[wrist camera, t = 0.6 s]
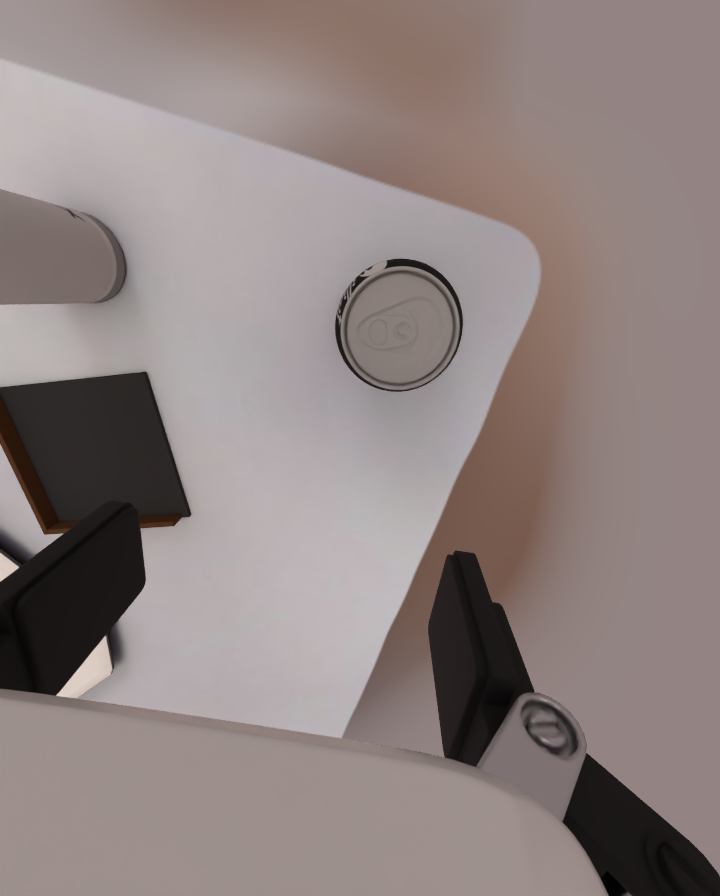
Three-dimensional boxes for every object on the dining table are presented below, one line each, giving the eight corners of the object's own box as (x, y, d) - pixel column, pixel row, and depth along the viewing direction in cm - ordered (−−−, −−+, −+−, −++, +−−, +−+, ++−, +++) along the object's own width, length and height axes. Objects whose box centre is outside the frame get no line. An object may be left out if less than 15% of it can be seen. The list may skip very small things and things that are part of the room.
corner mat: (-4, 387, 33) (-25, 392, 32) (146, 371, 32) (132, 376, 30) (59, 523, 38) (44, 534, 37) (191, 514, 37) (181, 525, 35)
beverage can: (436, 359, 30) (466, 395, 19) (354, 364, 31) (337, 401, 20) (436, 268, 28) (472, 249, 17) (347, 275, 28) (325, 261, 17)
